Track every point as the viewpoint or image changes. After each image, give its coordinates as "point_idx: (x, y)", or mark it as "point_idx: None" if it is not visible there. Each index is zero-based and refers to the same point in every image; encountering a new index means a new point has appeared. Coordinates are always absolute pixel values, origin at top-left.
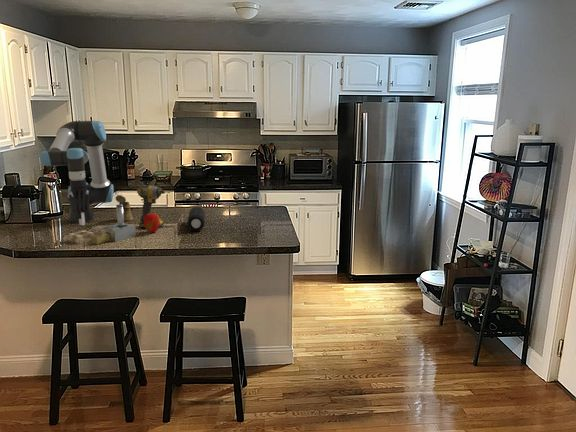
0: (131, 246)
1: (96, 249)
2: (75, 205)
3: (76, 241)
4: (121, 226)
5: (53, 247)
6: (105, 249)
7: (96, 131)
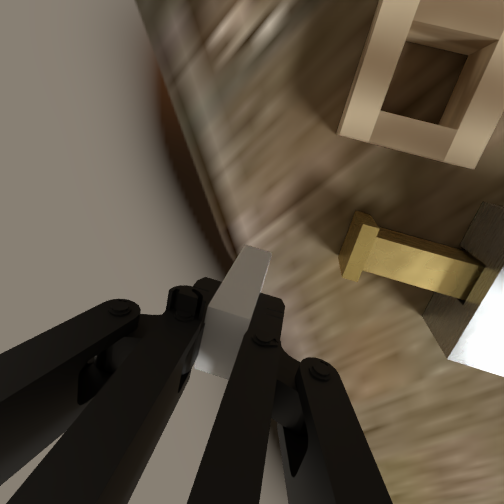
0: None
1: None
2: (24, 450)
3: (349, 93)
4: None
5: (215, 12)
6: None
7: None
